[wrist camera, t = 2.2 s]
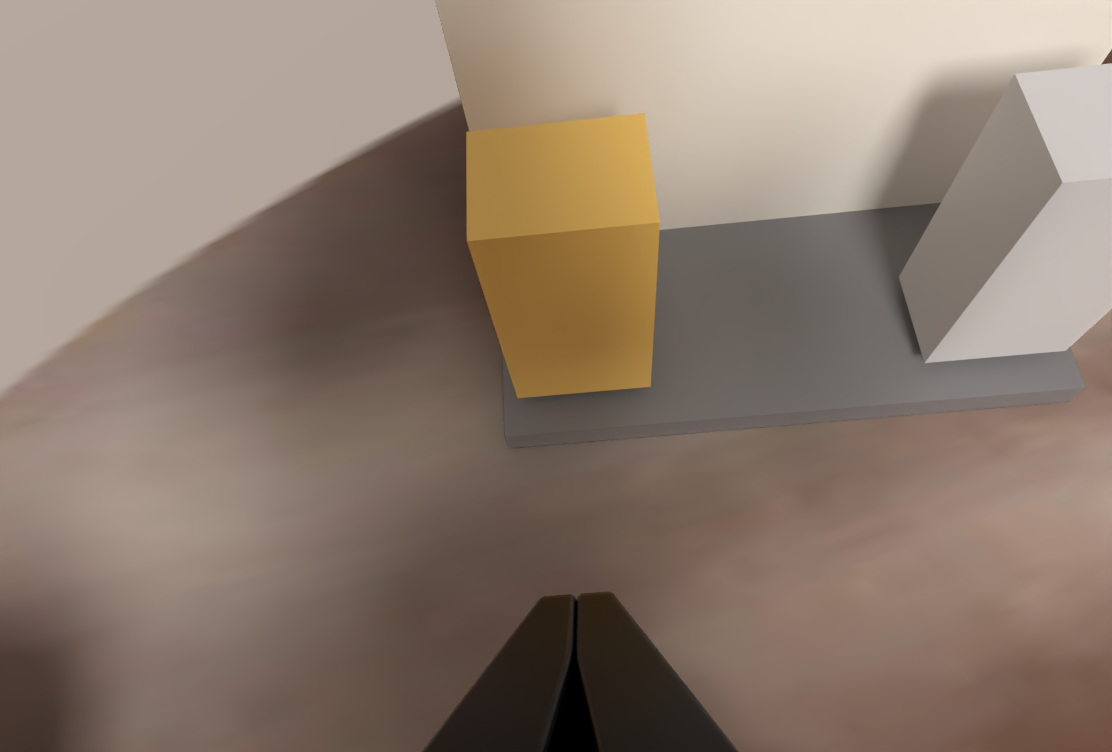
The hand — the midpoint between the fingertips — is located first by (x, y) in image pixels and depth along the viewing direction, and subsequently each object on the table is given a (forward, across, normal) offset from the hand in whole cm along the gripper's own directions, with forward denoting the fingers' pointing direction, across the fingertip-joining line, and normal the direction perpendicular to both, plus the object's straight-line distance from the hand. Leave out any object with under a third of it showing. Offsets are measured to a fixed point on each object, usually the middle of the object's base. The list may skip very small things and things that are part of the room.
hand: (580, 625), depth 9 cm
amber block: (+15, 0, +1) cm, 15 cm away
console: (+19, -6, 0) cm, 20 cm away
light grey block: (+15, -12, +1) cm, 19 cm away
